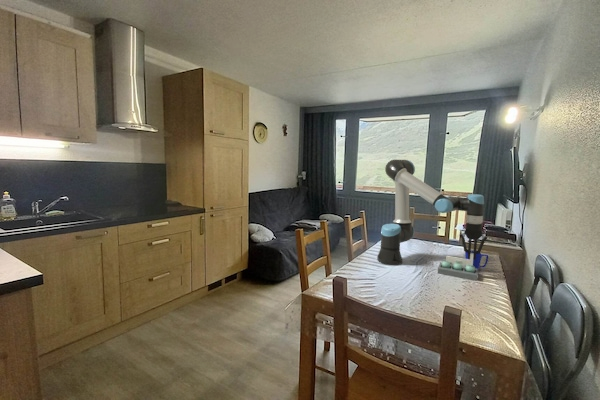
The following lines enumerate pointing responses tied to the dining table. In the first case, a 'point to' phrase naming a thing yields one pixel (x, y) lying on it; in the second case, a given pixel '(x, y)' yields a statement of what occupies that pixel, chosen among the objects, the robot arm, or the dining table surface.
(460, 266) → the button middle
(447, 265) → the button left
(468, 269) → the button right
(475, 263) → the mug
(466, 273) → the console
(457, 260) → the pattern card
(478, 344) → the dining table surface
